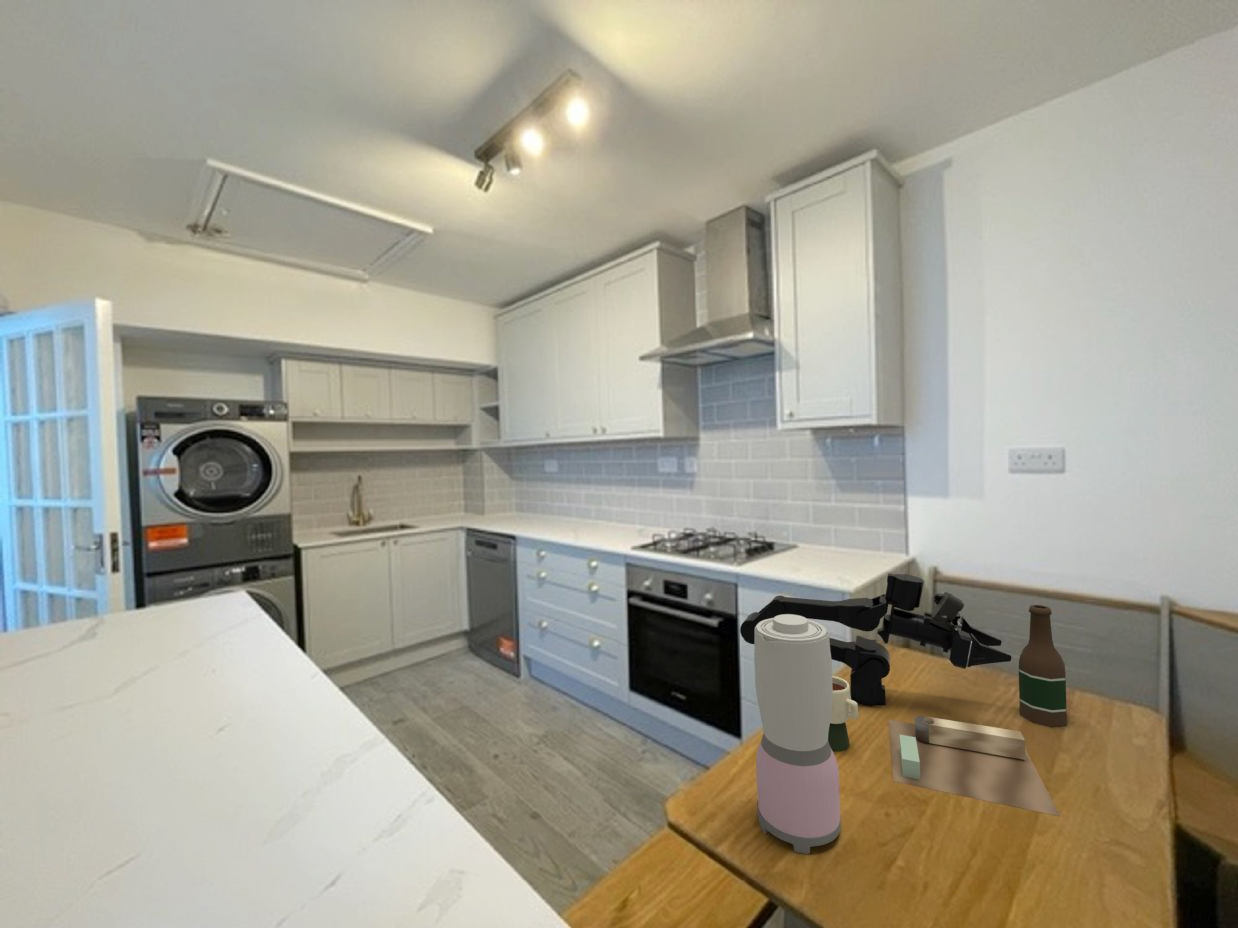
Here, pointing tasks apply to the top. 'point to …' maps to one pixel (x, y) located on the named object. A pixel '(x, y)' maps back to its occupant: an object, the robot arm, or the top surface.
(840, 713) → the character mug
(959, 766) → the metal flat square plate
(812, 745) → the blender
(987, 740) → the fold-out leg
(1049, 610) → the beer bottle
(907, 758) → the block
